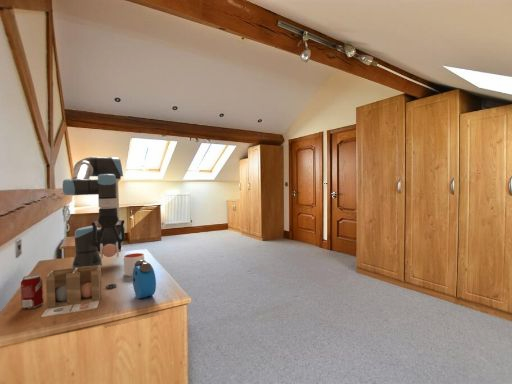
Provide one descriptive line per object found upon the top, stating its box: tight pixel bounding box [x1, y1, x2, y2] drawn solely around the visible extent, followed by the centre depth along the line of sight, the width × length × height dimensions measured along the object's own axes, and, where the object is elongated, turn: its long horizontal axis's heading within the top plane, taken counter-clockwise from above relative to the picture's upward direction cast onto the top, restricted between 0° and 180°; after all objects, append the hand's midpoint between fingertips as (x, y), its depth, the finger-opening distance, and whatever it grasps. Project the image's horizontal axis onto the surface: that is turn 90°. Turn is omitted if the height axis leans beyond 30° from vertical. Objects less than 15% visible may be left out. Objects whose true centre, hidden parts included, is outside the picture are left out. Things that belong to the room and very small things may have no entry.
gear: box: [105, 283, 117, 290], centre depth 133 cm, size 4×4×1 cm
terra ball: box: [102, 244, 117, 258], centre depth 133 cm, size 6×6×6 cm
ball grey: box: [55, 286, 67, 302], centre depth 117 cm, size 6×6×6 cm
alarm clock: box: [132, 259, 157, 299], centre depth 121 cm, size 13×6×15 cm, turn 38°
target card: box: [40, 301, 100, 318], centre depth 110 cm, size 7×18×1 cm, turn 113°
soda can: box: [20, 273, 44, 309], centre depth 114 cm, size 7×7×12 cm
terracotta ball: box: [80, 283, 92, 298], centre depth 120 cm, size 6×6×6 cm
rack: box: [45, 264, 103, 309], centre depth 118 cm, size 9×18×13 cm, turn 113°
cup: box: [123, 252, 145, 277], centre depth 153 cm, size 10×10×10 cm
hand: (109, 257), depth 133 cm, fingers closed on terra ball, 6 cm apart
